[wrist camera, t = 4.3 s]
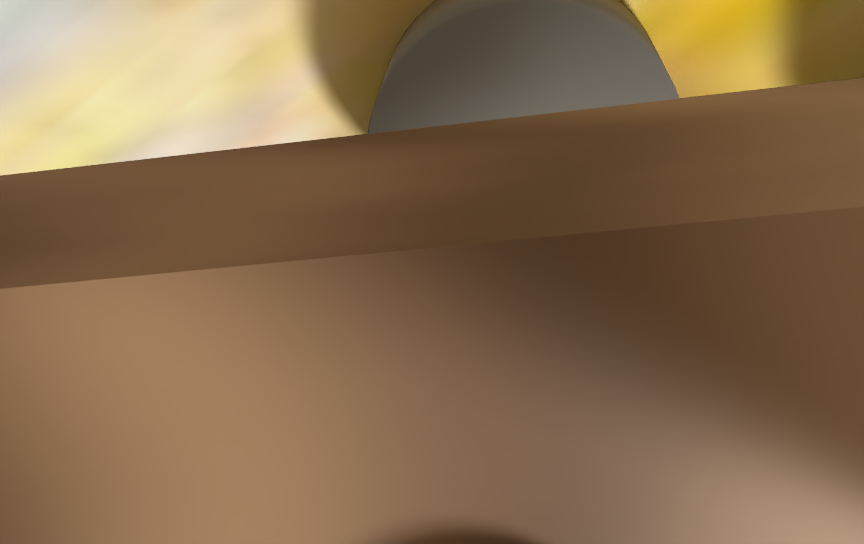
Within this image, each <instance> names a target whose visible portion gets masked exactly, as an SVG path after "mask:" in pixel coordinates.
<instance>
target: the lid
mask: <svg viewBox="0 0 864 544" xmlns="http://www.w3.org/2000/svg"><path fill="white" fill-rule="evenodd" d="M0 544H864V78H856V79H847V80H838V81H829V82H821V83H812V84H803V85H794V86H785V87H777V88H768V89H759V90H750V91H741V92H733V93H724V94H715V95H706V96H697V97H689V98H680V99H671V100H662V101H654V102H645V103H636V104H627V105H618V106H610V107H601V108H592V109H583V110H574V111H566V112H557V113H548V114H539V115H530V116H522V117H513V118H504V119H495V120H486V121H478V122H469V123H460V124H451V125H442V126H434V127H425V128H416V129H407V130H399V131H390V132H381V133H372V134H363V135H355V136H346V137H337V138H328V139H319V140H311V141H302V142H293V143H284V144H275V145H267V146H258V147H249V148H240V149H231V150H223V151H214V152H205V153H196V154H187V155H179V156H170V157H161V158H152V159H143V160H135V161H126V162H117V163H108V164H100V165H91V166H82V167H73V168H64V169H56V170H47V171H38V172H29V173H20V174H12V175H3V176H0Z"/></svg>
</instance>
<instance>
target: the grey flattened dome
mask: <svg viewBox="0 0 864 544" xmlns="http://www.w3.org/2000/svg"><path fill="white" fill-rule="evenodd" d="M671 99H679V96H678V94H677V91H676V88H675V86H674V84H673V82H672V80H671V78H670V76H669V74H668V72H667V70H666V68H665V66H664V64H663V62H662V60H661V58H660V56H659V55H658V53H657V51H656V49H655V47H654V45H653V43H652V41H651V39H650V37H649V35H648V34H647V32H646V30H645V29H644V28H643V26H642V25H641V24H640V22H639V21H638V19H637V18H636V17H635V16H634V15H633V14H632V13H631V12H630V11H629V10H628V9H627V8H626V7H625V6H624V5H623V4H622V3H621V2H620V1H619V0H435V1H434V2H433V3H432V4H431V5H430V6H428V7H427V8H426V9H425V10H424V11H423V12H422V13H421V14H420V15H419V16H418V17H417V18H416V19H415V21H414V22H413V23H412V24H411V25H410V26H409V28H408V29H407V30H406V32H405V33H404V35H403V37H402V38H401V40H400V41H399V43H398V44H397V46H396V49H395V51H394V53H393V55H392V57H391V59H390V62H389V65H388V68H387V70H386V73H385V76H384V79H383V82H382V85H381V88H380V91H379V94H378V96H377V99H376V102H375V105H374V109H373V112H372V115H371V119H370V123H369V130H368V134H372V133H381V132H390V131H399V130H407V129H416V128H425V127H434V126H442V125H451V124H460V123H469V122H478V121H486V120H495V119H504V118H513V117H522V116H530V115H539V114H548V113H557V112H566V111H574V110H583V109H592V108H601V107H610V106H618V105H627V104H636V103H645V102H654V101H662V100H671Z"/></svg>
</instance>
